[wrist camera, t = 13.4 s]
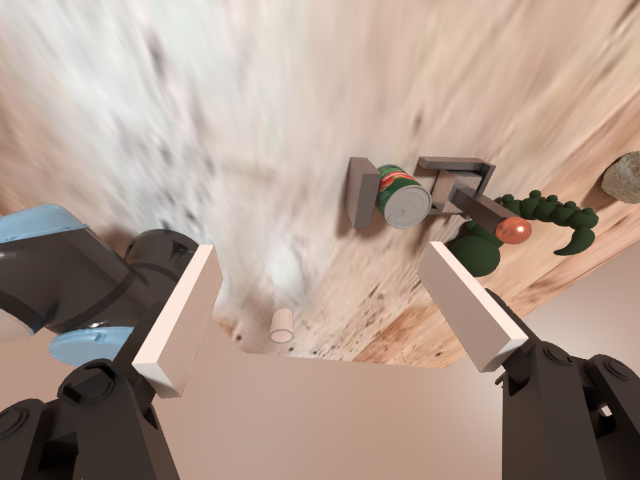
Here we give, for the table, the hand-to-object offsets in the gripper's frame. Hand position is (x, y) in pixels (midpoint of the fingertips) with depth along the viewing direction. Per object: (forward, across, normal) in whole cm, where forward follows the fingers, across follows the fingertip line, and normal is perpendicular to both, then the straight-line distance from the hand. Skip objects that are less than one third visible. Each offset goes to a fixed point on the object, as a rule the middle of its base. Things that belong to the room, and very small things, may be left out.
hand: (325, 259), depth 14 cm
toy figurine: (+32, -41, +17) cm, 55 cm away
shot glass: (+32, +6, +48) cm, 58 cm away
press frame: (+32, -21, +7) cm, 39 cm away
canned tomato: (+32, -16, +7) cm, 37 cm away
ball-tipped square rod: (+31, -29, +7) cm, 44 cm away
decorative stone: (+32, -70, +4) cm, 77 cm away
